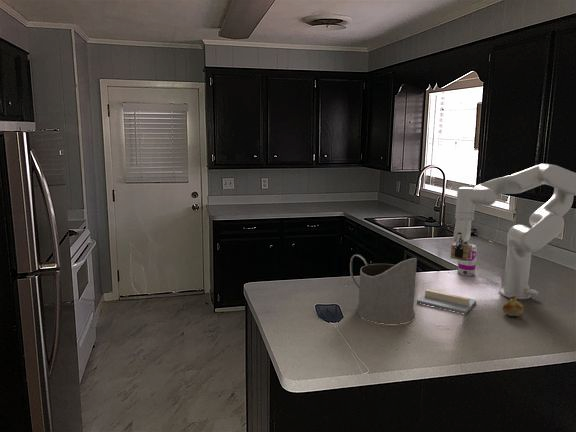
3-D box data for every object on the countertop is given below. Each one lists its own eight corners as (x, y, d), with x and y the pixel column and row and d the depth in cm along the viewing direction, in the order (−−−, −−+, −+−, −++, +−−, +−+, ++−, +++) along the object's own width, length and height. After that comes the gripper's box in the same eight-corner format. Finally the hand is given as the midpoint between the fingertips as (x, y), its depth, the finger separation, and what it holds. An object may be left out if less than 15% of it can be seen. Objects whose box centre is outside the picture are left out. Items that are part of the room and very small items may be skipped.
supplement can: (477, 276, 237) (479, 247, 234) (460, 276, 237) (463, 246, 234) (471, 271, 245) (473, 243, 242) (455, 271, 245) (457, 242, 242)
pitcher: (388, 331, 172) (392, 264, 167) (329, 304, 196) (331, 245, 191) (427, 316, 186) (432, 254, 181) (367, 293, 210) (370, 238, 205)
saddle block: (470, 257, 210) (472, 244, 209) (466, 261, 205) (468, 247, 204) (454, 255, 214) (455, 242, 213) (450, 258, 209) (451, 244, 208)
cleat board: (475, 303, 200) (476, 294, 200) (465, 315, 188) (466, 305, 187) (429, 293, 212) (430, 284, 211) (416, 303, 199) (417, 294, 198)
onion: (496, 313, 190) (498, 294, 188) (512, 311, 193) (514, 292, 191) (511, 320, 183) (514, 301, 181) (527, 318, 186) (529, 298, 184)
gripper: (461, 211, 215) (458, 250, 218) (449, 217, 201) (446, 258, 204) (478, 214, 210) (475, 253, 214) (467, 219, 197) (463, 261, 200)
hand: (460, 255), depth 209 cm, fingers closed on saddle block, 6 cm apart
